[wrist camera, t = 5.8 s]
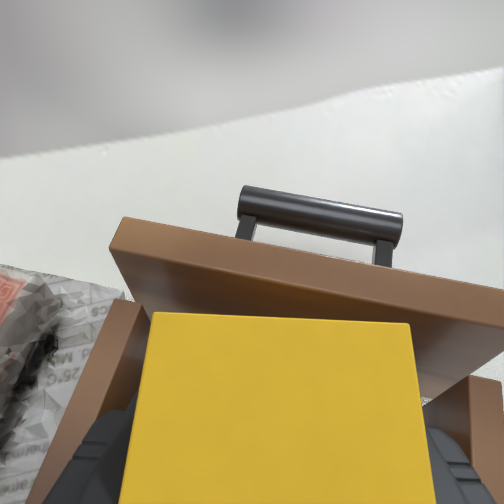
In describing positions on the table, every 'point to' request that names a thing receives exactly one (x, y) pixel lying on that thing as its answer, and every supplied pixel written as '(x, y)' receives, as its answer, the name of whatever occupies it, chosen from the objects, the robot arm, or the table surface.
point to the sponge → (277, 414)
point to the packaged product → (41, 364)
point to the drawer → (296, 314)
